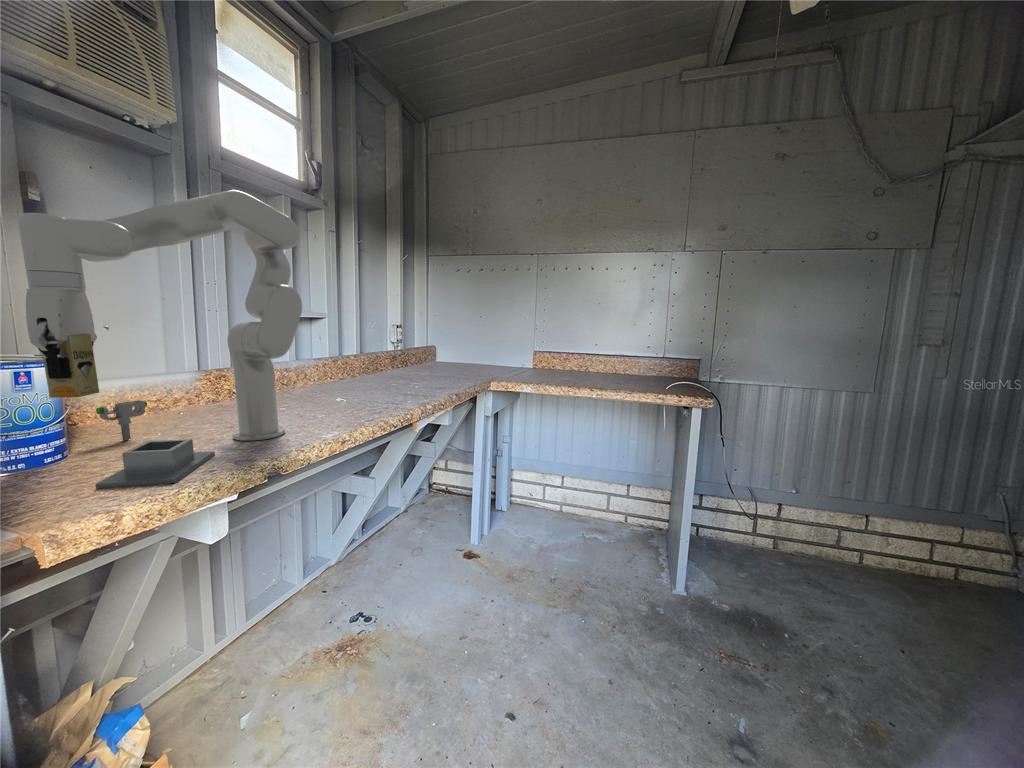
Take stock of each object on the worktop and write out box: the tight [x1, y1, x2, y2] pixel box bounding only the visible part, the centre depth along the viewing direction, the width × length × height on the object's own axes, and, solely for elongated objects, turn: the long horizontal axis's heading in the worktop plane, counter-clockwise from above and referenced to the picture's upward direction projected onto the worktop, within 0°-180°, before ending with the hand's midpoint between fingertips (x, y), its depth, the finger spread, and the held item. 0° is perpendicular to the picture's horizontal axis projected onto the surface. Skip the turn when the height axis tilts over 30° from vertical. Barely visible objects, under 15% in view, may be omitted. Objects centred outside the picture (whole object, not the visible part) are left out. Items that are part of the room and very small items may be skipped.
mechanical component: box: [95, 399, 148, 441], centre depth 110 cm, size 3×10×10 cm, turn 160°
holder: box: [94, 438, 216, 490], centre depth 90 cm, size 18×13×6 cm
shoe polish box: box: [42, 334, 100, 399], centre depth 83 cm, size 5×5×12 cm
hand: (72, 375), depth 83 cm, fingers closed on shoe polish box, 5 cm apart
